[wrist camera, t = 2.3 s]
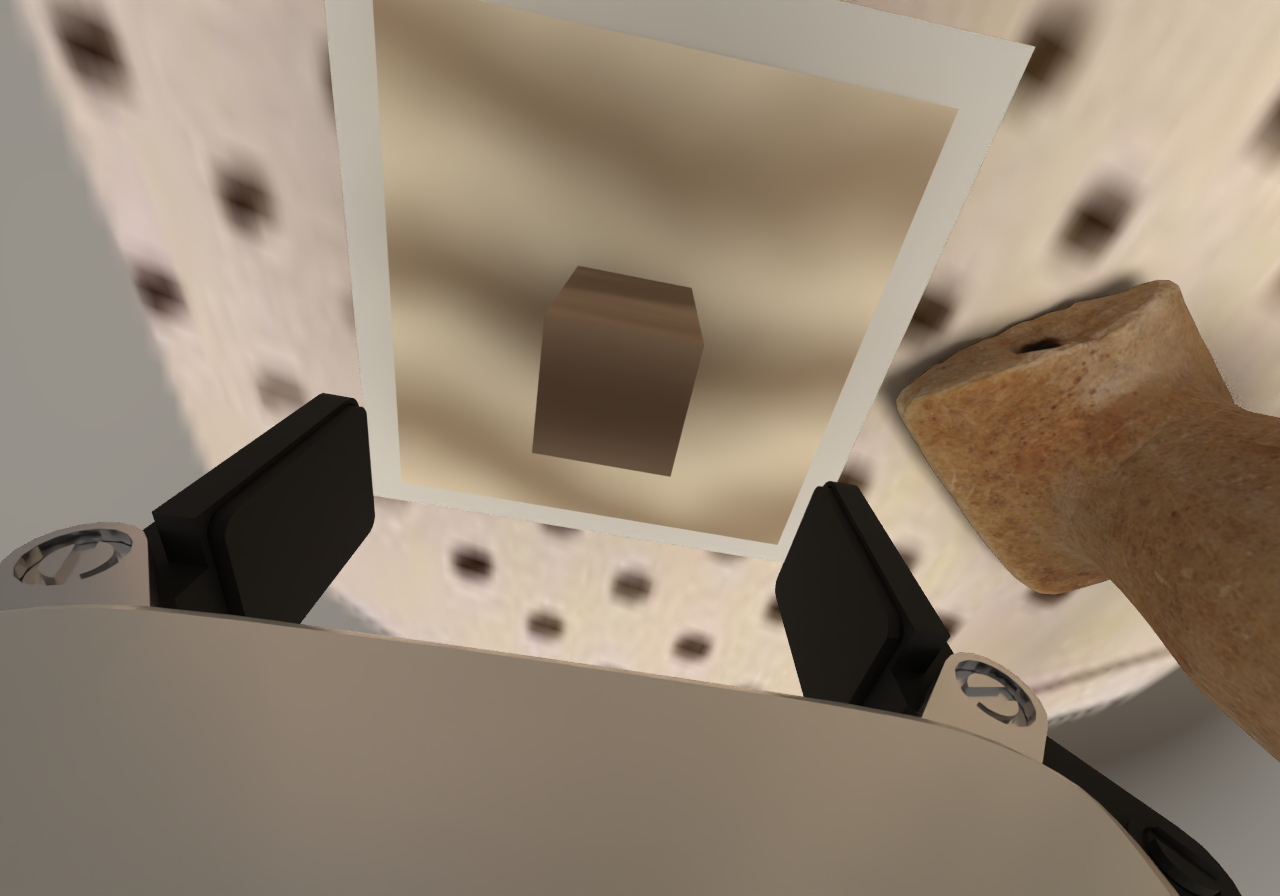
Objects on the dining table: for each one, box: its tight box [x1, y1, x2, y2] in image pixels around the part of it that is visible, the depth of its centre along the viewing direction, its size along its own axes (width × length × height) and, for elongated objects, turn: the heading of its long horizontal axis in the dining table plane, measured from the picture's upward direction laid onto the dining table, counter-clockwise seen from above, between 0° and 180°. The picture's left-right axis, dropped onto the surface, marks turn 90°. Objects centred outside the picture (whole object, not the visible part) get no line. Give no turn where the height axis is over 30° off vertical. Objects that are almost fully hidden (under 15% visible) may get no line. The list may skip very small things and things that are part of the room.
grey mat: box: [324, 0, 1035, 563], centre depth 20 cm, size 21×21×1 cm
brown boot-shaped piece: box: [896, 280, 1280, 762], centre depth 16 cm, size 15×12×15 cm
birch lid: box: [373, 0, 959, 545], centre depth 17 cm, size 17×17×7 cm
